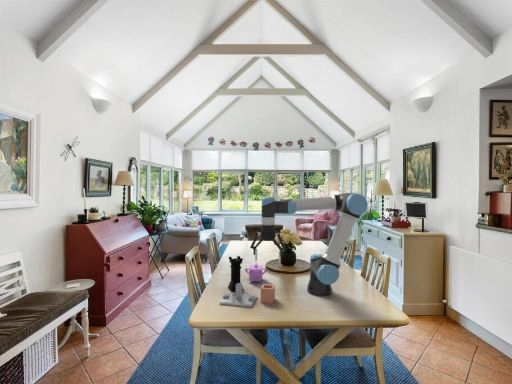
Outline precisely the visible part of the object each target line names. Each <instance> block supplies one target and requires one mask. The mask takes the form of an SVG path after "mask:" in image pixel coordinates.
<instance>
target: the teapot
mask: <svg viewBox="0 0 512 384" xmlns="http://www.w3.org/2000/svg"><path fill="white" fill-rule="evenodd" d="M263 270H264V271H263ZM244 271H245V273H247V274H248V275H249V276H248V281H249V282H250V283H254V282H257V283H262V282H263V275H264V274H265V273H267V271H268V269H267V268H265V267H263V264H261V265H259V264H258V263H257V262H255V264H250V265H249V267H246V268H244Z"/></svg>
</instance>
